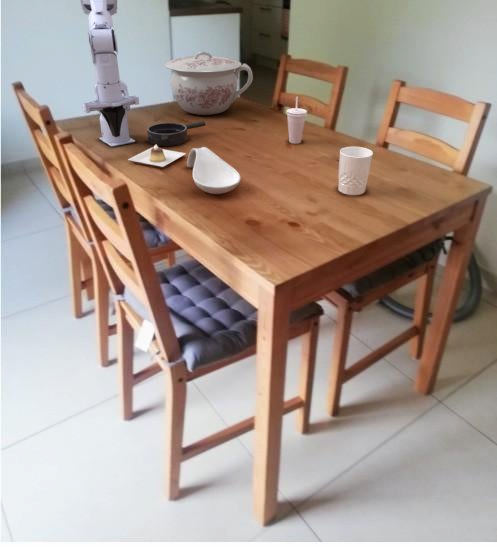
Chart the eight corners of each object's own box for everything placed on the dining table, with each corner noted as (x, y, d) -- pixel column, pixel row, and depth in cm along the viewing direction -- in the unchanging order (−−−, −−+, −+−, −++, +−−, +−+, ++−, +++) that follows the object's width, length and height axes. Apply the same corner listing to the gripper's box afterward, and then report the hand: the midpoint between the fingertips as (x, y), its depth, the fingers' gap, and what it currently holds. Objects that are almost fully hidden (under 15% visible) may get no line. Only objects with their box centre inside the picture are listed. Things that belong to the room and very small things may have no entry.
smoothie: (282, 143, 155) (284, 97, 148) (288, 137, 160) (290, 92, 153) (301, 146, 153) (304, 99, 146) (307, 140, 158) (310, 94, 151)
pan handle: (182, 129, 159) (181, 124, 158) (202, 125, 163) (202, 120, 162) (184, 130, 158) (184, 125, 157) (205, 126, 162) (205, 121, 161)
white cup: (360, 199, 120) (366, 159, 115) (330, 192, 124) (334, 153, 118) (371, 188, 126) (377, 150, 121) (343, 181, 129) (347, 144, 124)
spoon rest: (248, 195, 122) (248, 167, 118) (203, 203, 118) (201, 174, 114) (213, 163, 140) (212, 138, 136) (173, 169, 136) (171, 144, 132)
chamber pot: (153, 112, 184) (147, 52, 172) (200, 98, 203) (197, 43, 191) (212, 125, 170) (210, 61, 159) (256, 109, 189) (257, 50, 178)
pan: (141, 139, 158) (140, 127, 155) (175, 132, 164) (174, 120, 162) (160, 149, 149) (159, 136, 147) (194, 142, 156) (194, 129, 154)
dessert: (152, 150, 149) (151, 134, 146) (186, 157, 144) (185, 140, 142) (127, 163, 140) (125, 146, 137) (163, 170, 135) (161, 153, 133)
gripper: (86, 89, 117) (96, 145, 125) (142, 81, 125) (147, 134, 132) (75, 83, 122) (85, 137, 129) (129, 76, 129) (135, 128, 137)
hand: (116, 135), depth 131 cm, fingers closed
